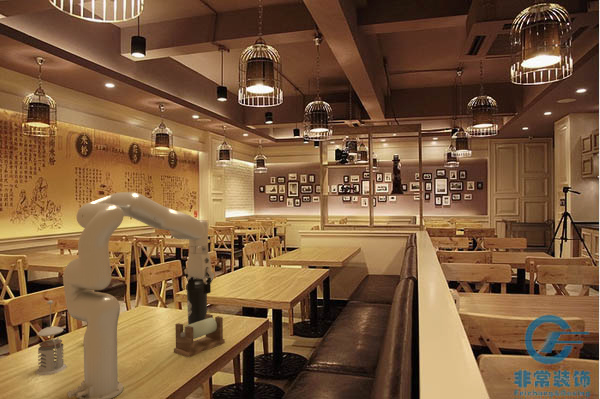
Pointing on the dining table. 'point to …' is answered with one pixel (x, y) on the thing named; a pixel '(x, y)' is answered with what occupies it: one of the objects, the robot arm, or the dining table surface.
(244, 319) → the dining table surface
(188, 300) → the water bottle
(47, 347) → the french press
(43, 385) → the dining table surface
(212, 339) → the holder
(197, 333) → the roll
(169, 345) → the dining table surface
